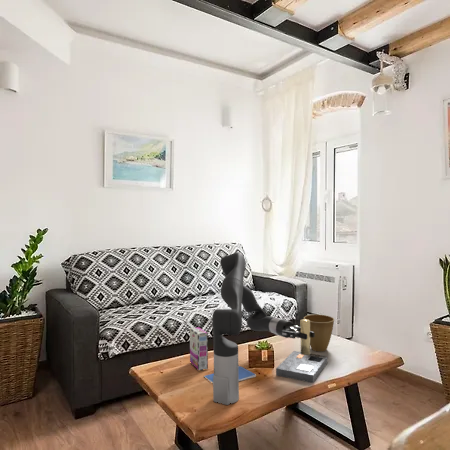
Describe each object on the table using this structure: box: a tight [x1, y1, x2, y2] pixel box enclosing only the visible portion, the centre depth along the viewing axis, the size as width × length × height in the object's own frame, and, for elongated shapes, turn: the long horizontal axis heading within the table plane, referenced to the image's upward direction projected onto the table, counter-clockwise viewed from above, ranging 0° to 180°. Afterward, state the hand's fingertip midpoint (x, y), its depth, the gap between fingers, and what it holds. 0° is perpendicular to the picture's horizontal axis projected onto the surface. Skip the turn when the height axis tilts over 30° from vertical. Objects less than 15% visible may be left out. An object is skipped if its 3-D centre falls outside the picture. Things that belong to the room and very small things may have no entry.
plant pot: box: [303, 313, 335, 353], centre depth 194 cm, size 15×15×16 cm
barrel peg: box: [299, 318, 311, 355], centre depth 162 cm, size 4×4×14 cm
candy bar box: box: [189, 326, 209, 371], centre depth 174 cm, size 11×5×16 cm, turn 25°
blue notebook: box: [203, 365, 257, 384], centre depth 162 cm, size 19×13×1 cm, turn 123°
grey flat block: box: [275, 350, 328, 384], centre depth 169 cm, size 24×16×3 cm, turn 152°
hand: (310, 335), depth 160 cm, fingers closed on barrel peg, 4 cm apart
